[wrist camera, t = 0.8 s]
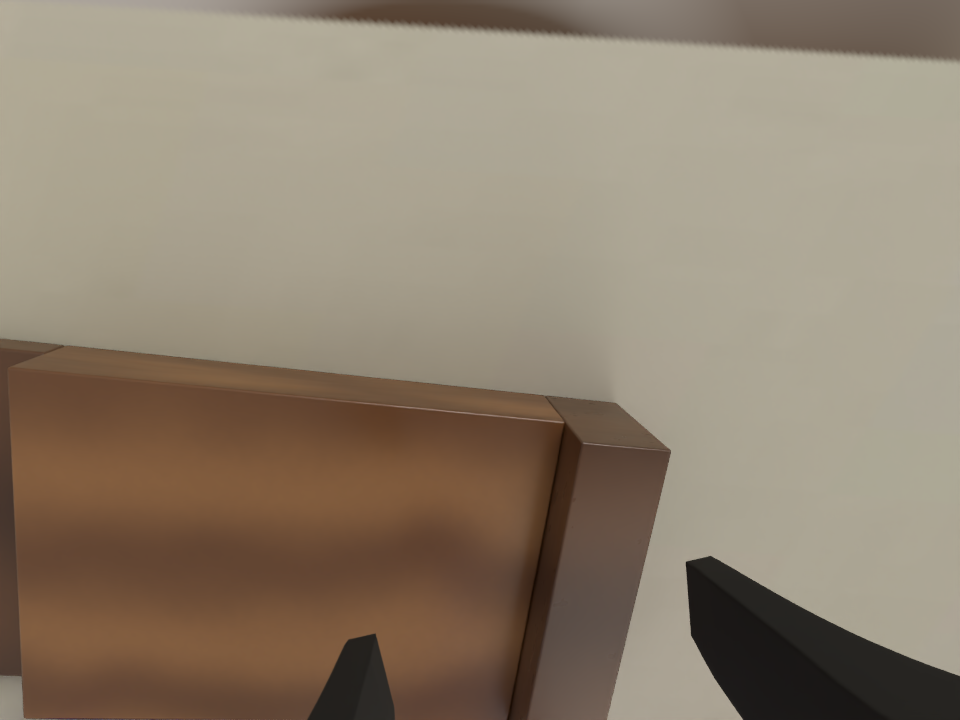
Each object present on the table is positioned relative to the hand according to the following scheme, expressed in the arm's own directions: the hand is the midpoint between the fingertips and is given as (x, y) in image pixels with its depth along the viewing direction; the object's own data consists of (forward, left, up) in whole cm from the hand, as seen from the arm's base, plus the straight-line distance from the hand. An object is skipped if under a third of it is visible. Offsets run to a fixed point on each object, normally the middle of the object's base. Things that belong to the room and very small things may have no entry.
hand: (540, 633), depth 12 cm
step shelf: (-3, +6, -10) cm, 12 cm away
